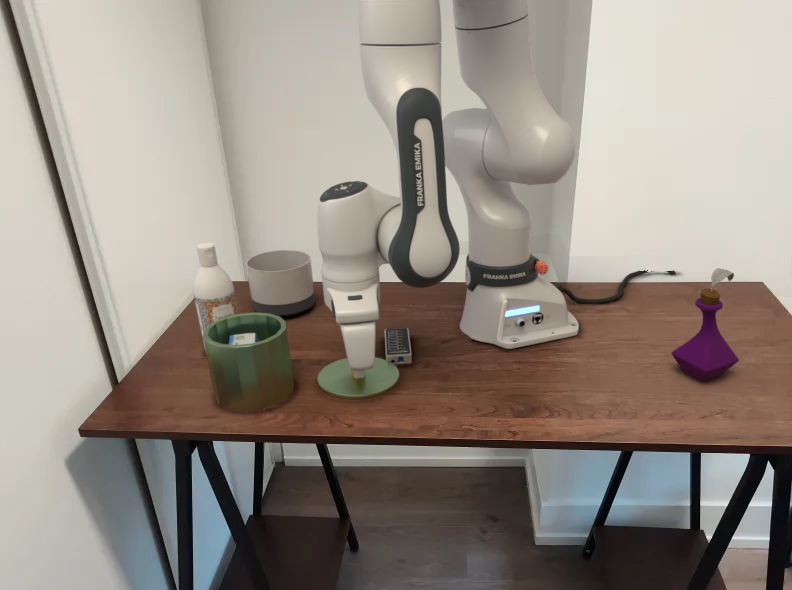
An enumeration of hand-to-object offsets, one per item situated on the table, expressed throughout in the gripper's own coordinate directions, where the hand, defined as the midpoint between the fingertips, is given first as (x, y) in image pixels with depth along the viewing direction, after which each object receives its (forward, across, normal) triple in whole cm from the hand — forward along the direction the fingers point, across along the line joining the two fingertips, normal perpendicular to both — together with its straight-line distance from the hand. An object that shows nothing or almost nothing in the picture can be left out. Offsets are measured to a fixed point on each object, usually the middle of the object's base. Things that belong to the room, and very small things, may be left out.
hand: (358, 368), depth 113 cm
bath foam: (+3, -17, -23) cm, 29 cm away
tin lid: (+2, 0, 0) cm, 2 cm away
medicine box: (+2, 0, -18) cm, 18 cm away
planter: (+3, -34, -12) cm, 36 cm away
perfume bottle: (+3, +10, +56) cm, 57 cm away
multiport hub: (+3, -9, +8) cm, 12 cm away
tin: (+2, 0, -17) cm, 17 cm away
